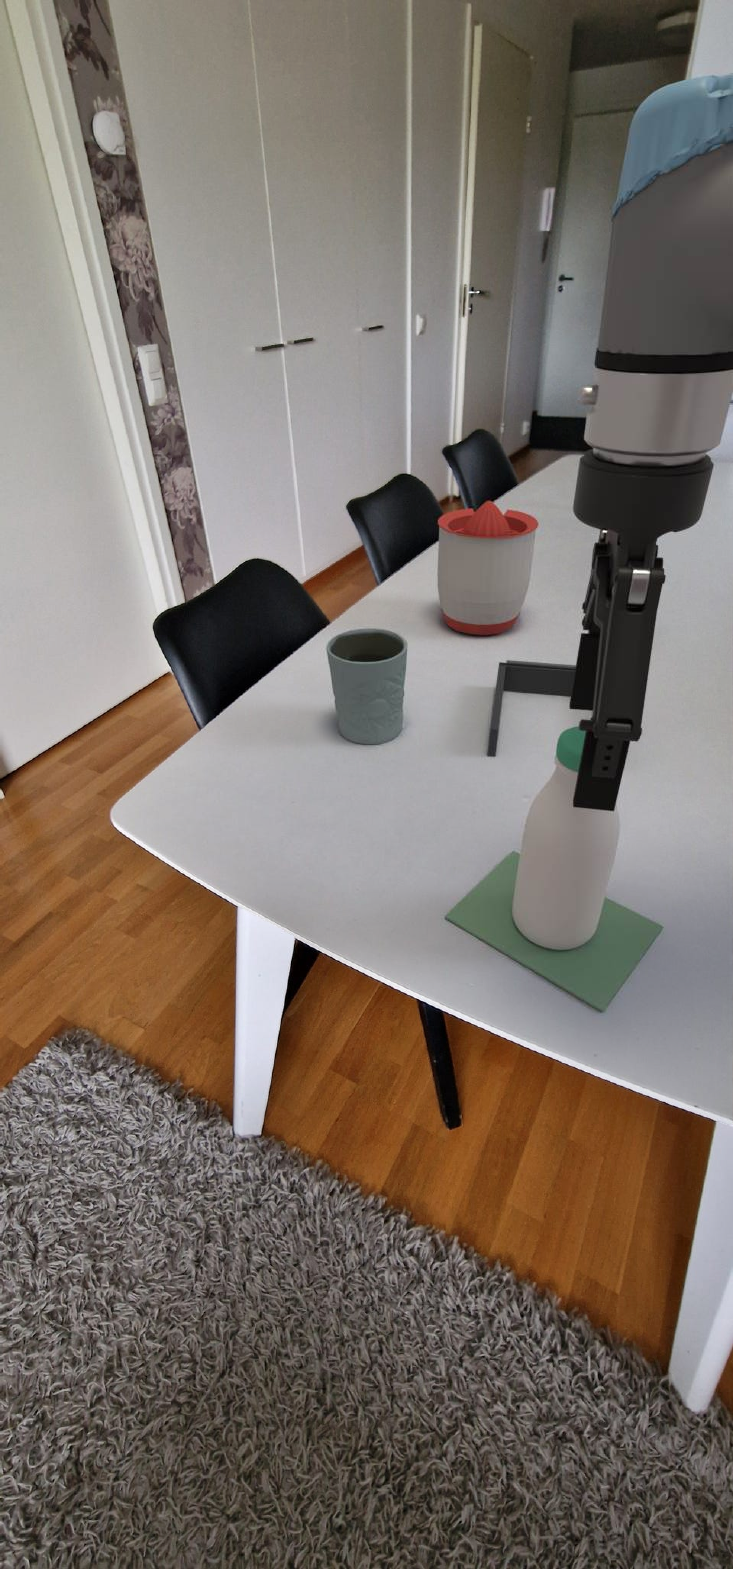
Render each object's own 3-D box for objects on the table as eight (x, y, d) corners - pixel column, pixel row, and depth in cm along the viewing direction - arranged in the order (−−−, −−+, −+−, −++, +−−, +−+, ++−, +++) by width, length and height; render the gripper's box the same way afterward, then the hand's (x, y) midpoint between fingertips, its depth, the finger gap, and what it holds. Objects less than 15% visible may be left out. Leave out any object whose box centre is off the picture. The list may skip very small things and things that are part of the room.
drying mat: (662, 928, 65) (663, 926, 64) (602, 1013, 57) (603, 1010, 57) (513, 852, 73) (513, 850, 73) (444, 918, 66) (444, 916, 66)
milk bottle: (605, 953, 62) (656, 768, 50) (517, 953, 62) (548, 769, 50) (585, 890, 68) (626, 713, 56) (505, 890, 68) (529, 714, 56)
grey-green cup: (383, 755, 88) (382, 669, 81) (316, 735, 92) (309, 651, 85) (419, 718, 95) (421, 636, 88) (355, 701, 99) (352, 621, 92)
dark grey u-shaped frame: (496, 687, 102) (499, 658, 99) (611, 696, 99) (617, 667, 96) (487, 755, 88) (490, 724, 85) (620, 769, 85) (628, 737, 82)
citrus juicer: (526, 603, 126) (540, 486, 114) (525, 645, 112) (541, 517, 101) (439, 599, 129) (444, 483, 117) (428, 639, 115) (432, 513, 103)
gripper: (575, 414, 52) (541, 673, 64) (589, 506, 32) (535, 853, 45) (684, 415, 50) (627, 680, 63) (767, 511, 31) (660, 868, 43)
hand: (589, 752), depth 54 cm, fingers open, 13 cm apart
